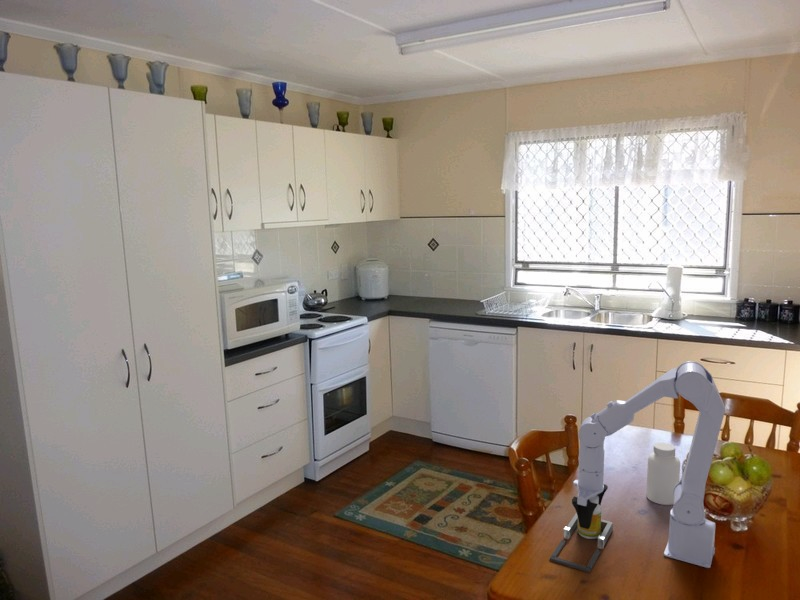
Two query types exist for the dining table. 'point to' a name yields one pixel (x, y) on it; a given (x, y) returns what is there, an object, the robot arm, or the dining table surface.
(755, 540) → the dining table surface
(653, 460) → the pill bottle
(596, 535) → the supplement bottle
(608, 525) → the dispenser cradle
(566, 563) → the rubber frame
